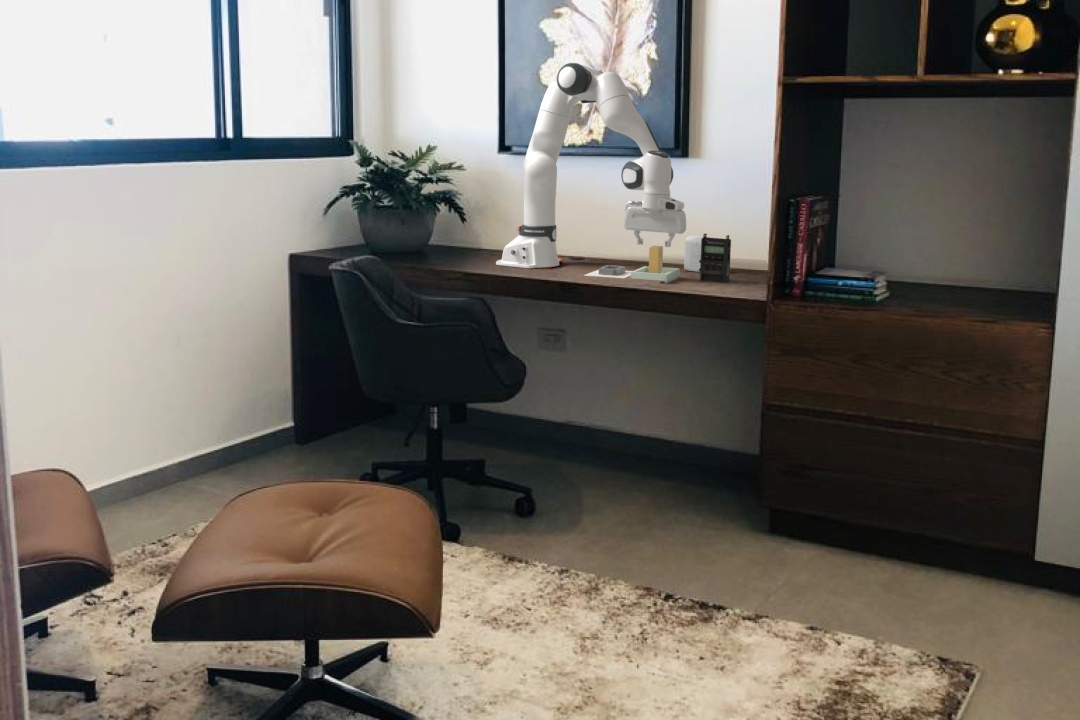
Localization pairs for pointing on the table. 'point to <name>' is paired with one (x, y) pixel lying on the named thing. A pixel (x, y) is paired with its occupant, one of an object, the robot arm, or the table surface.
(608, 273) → the panel
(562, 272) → the table surface
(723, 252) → the geiger counter
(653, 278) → the parts tray
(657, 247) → the block
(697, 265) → the photo printer
